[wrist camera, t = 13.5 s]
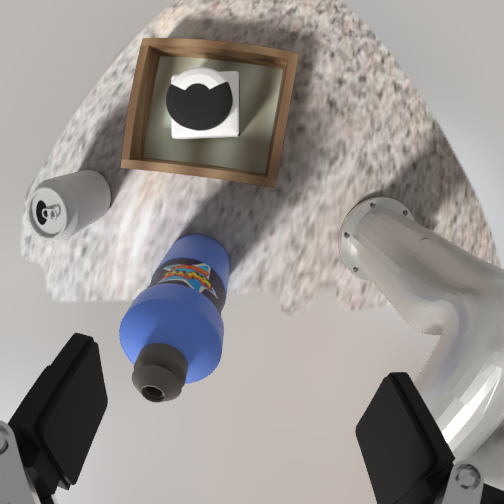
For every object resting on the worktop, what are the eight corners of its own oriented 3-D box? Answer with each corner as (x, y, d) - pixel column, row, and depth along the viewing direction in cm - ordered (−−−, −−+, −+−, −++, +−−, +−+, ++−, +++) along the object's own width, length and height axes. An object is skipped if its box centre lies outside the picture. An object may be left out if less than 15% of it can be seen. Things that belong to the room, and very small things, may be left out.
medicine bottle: (240, 137, 37) (238, 133, 25) (184, 139, 36) (158, 138, 25) (239, 83, 34) (237, 57, 23) (183, 86, 34) (158, 63, 23)
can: (71, 168, 38) (21, 180, 26) (114, 170, 38) (70, 182, 27) (70, 217, 40) (24, 243, 29) (113, 222, 41) (72, 250, 29)
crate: (291, 65, 34) (298, 53, 28) (270, 181, 39) (274, 188, 34) (156, 51, 33) (142, 38, 27) (137, 163, 38) (120, 167, 32)
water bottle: (221, 301, 45) (202, 441, 22) (160, 283, 44) (96, 410, 20) (238, 243, 42) (231, 367, 19) (173, 224, 41) (94, 325, 18)
